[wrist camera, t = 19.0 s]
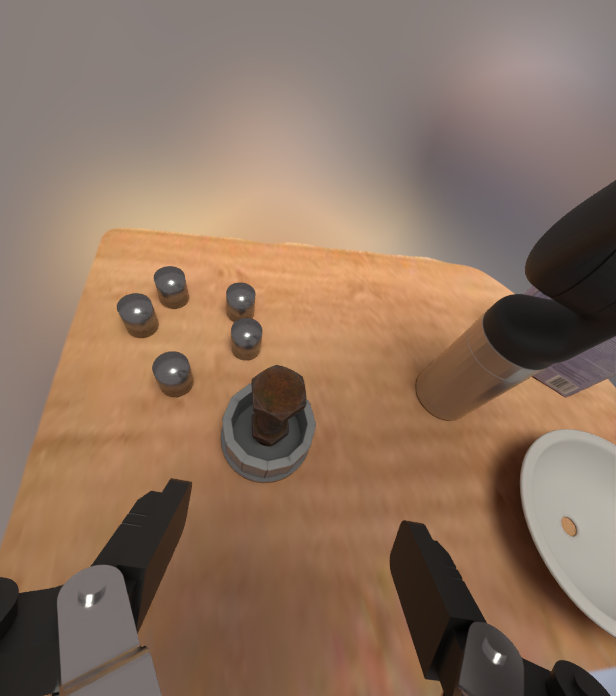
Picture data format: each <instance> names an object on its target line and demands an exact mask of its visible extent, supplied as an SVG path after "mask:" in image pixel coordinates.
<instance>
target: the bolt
mask: <svg viewBox="0 0 616 696" xmlns="http://www.w3.org/2000/svg"><path fill="white" fill-rule="evenodd" d="M251 385H252V402H253V412H254V414H252V436H253V438H254V439H255V440H257V441H258V442H259V443H260V444H261V445H263V446H273V445H275V444H276V443H278V442H279V441H280V440H282V439H283V438H284V437H286V436H287V435H288V433H289V423H288V419H290V418H291V417H293V416H294V415H296V414H297V413H298V412H300V411H301V410H303V409H304V408H305V407H306V404H307V400H306V390H305V384H304V380H303V377H302V376H301V375H299V374H298V373H296V372H295V371H293V370H291V369H288V368H286V367H283V366H279V365H275V366H272V367H270V368H268V369H266V370H264V371H263V372H261V373H260V374H258V375H257V376H255V377H254V378H253V379H252V383H251Z"/></svg>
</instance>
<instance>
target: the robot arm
mask: <svg viewBox="0 0 616 696" xmlns="http://www.w3.org/2000/svg"><path fill="white" fill-rule="evenodd" d="M525 274H526V277H527V279H528V280H529V282H530V283H531V284H532V285H533V286H534V287H535V288H537V289H538V290H539V291H540V292H542V293H543V294H545V295H546V296H548V297H550V298H551V299H553V300H551V299H545V298H540V297H535V296H530V295H524V294H514V295H509V296H506V297H504V298H502V299H500V300H499V301H497V302H496V303H495V304H494V305H493V306H492V307H491V308H490V309H489V310H488V311H487V312H486V313H484V314H483V315H482V316H481V317H480V318H479V319H478V320H477V321H476V322H475V323H474V324H473V325H472V326H471V327H470V328H469V329H468V330H467V331H466V332H464V333H463V334H462V335H461V336H460V337H459V338H458V339H457V340H456V341H455V342H454V343H453V344H452V345H451V346H450V347H449V348H447V349H446V350H445V351H444V352H443V353H442V354H441V355H440V356H439V357H438V358H437V359H436V360H435V361H434V362H432V363H431V364H430V365H429V366H428V367H427V368H426V369H425V370H424V371H423V372H422V373H421V374H420V375H419V377H418V378H417V382H416V392H417V396H418V398H419V400H420V402H421V403H422V405H423V406H424V407H425V408H426V409H427V410H428V411H429V412H430V413H431V414H433V415H434V416H436V417H438V418H441V419H444V420H456V419H459V418H461V417H463V416H465V415H466V414H468V413H470V412H471V411H473V410H475V409H477V408H479V407H480V406H482V405H484V404H486V403H487V402H489V401H491V400H492V399H494V398H496V397H498V396H499V395H501V394H503V393H504V392H506V391H508V390H510V389H511V388H513V387H515V386H517V385H518V384H520V383H522V382H523V381H525V380H527V379H529V378H530V377H532V376H534V375H535V374H537V373H539V372H540V371H542V370H544V369H546V368H548V367H549V366H551V365H553V364H555V363H560V362H564V361H567V360H569V359H571V358H573V357H575V356H577V355H579V354H581V353H583V352H585V351H587V350H589V349H591V348H593V347H595V346H597V345H599V344H601V343H603V342H605V341H607V340H609V339H611V338H613V337H615V336H616V180H615V181H614V182H612V183H611V184H609V185H608V186H606V187H605V188H603V189H602V190H600V191H599V192H597V193H596V194H594V195H593V196H591V197H590V198H588V199H587V200H585V201H584V202H582V203H581V204H580V205H578V206H577V207H575V208H574V209H573V210H571V211H570V212H569V213H567V214H566V215H565V216H564V217H562V218H561V219H560V220H559V221H558V222H557V223H555V224H554V225H553V226H552V227H551V228H550V229H549V230H548V231H547V232H546V233H545V234H544V235H543V236H542V237H541V238H540V240H539V241H538V242H537V243H536V244H535V246H534V247H533V249H532V250H531V252H530V254H529V256H528V258H527V261H526V265H525ZM191 488H192V482H189V481H184V480H178V479H172V478H171V479H170V480H169V482H168V483H167V485H166V487H165V488H164V490H163V492H162V493H161V492H155V491H150V492H149V493H147V494H146V495H144V496H143V497H141V498H140V499H138V500H137V502H136V503H135V505H134V506H133V507H132V509H131V510H130V512H129V514H128V515H127V516H126V517H125V519H124V520H123V522H122V524H120V526H119V527H118V529H117V530H116V531H115V533H114V534H113V536H112V537H111V539H110V540H109V541H108V543H107V544H106V546H105V547H104V548H103V550H102V551H101V553H100V554H99V555H98V557H97V558H96V560H95V561H94V563H93V564H92V565H91V566H90V567H88V568H86V569H84V570H82V571H80V572H78V573H76V574H75V575H74V576H72V577H71V578H70V579H69V580H68V581H67V582H66V583H65V584H64V585H61V586H58V587H55V588H50V589H44V590H37V591H30V592H23V593H19V589H18V586H17V584H16V583H15V582H14V581H13V580H11V579H8V578H3V577H0V696H44V695H48V694H50V696H161V692H160V688H159V684H158V680H157V676H156V673H155V669H154V665H153V661H152V658H151V654H150V652H149V649H148V648H147V647H146V646H144V647H141V645H140V643H139V639H138V635H137V634H138V632H139V629H140V627H141V625H142V623H143V620H144V618H145V616H146V614H147V611H148V609H149V607H150V605H151V602H152V600H153V598H154V596H155V593H156V591H157V589H158V587H159V584H160V582H161V580H162V578H163V575H164V573H165V571H166V569H167V566H168V564H169V562H170V560H171V557H172V555H173V553H174V551H175V548H176V546H177V544H178V542H179V539H180V537H181V534H182V532H183V529H184V525H185V521H186V517H187V511H188V506H189V500H190V494H191ZM390 570H391V574H392V577H393V581H394V584H395V587H396V590H397V593H398V596H399V599H400V602H401V606H402V609H403V612H404V615H405V618H406V621H407V624H408V627H409V631H410V634H411V637H412V640H413V643H414V646H415V649H416V652H417V656H418V659H419V662H420V665H421V668H422V671H423V674H424V678H425V679H429V680H437V681H440V683H441V686H442V689H443V691H442V693H441V696H610V694H609V693H608V692H607V691H606V689H605V688H604V687H603V686H602V685H601V684H600V683H599V682H598V681H597V680H596V679H595V678H594V677H593V676H592V675H590V674H589V673H588V672H587V671H585V670H584V669H582V668H581V667H579V666H577V665H576V664H574V663H571V662H569V661H565V660H560V661H557V662H556V663H555V665H554V667H553V669H552V671H549V670H547V669H544V668H542V667H540V666H538V665H536V664H534V663H532V662H530V661H528V660H525V659H523V658H522V657H521V656H520V654H519V652H518V650H517V649H516V647H515V646H514V645H513V643H512V642H511V641H510V640H509V639H508V638H507V637H506V636H505V635H504V634H503V633H502V632H501V631H499V630H498V629H496V628H495V627H493V626H491V625H489V624H487V622H486V621H485V619H484V617H483V615H482V613H481V611H480V610H479V608H478V606H477V604H476V602H475V601H474V599H473V597H472V595H471V593H470V591H469V590H468V588H467V586H466V584H465V582H464V581H462V577H461V575H460V573H459V571H458V570H456V566H455V564H454V562H453V561H452V559H451V557H450V555H449V553H448V552H447V551H446V550H445V549H444V548H443V547H442V546H441V545H440V544H439V543H438V541H434V540H433V539H432V537H431V535H430V534H429V532H428V530H427V528H426V526H425V525H424V524H422V523H417V522H411V521H406V520H403V521H402V522H401V524H400V527H399V530H398V533H397V536H396V539H395V542H394V545H393V548H392V551H391V554H390Z"/></svg>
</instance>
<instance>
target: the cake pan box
mask: <svg viewBox="0 0 616 696" xmlns="http://www.w3.org/2000/svg"><path fill="white" fill-rule="evenodd" d="M524 295H530V296H535V297H540V298H545V299H551V298H550V297H548V296H546V295H545V294H543V293H542V292H540V291H539V290H538V289H537V288H535V287H534V286H532V287H531V288H530V289H528V290H527V291H526V292H525V293H524ZM551 300H553V299H551ZM614 375H616V336H615V337H613V338H611V339H609V340H607V341H605V342H603V343H601V344H599V345H597V346H595V347H593V348H591V349H589V350H587V351H585V352H583V353H581V354H579V355H577V356H575V357H573V358H571V359H569V360H567V361H564V362H560V363H555V364H553V365H551V366H549V367H548V368H546V369H544V370H542V371H540V372H539V373H537V374H535V375H534V376H533V377H535V378H537V379H538V380H540V381H541V382H543V383H544V384H546V385H548V386H549V387H551V388H552V389H554V390H555V391H557V392H559V393H560V394H561V395H563V396H564V397H568V396H570V395H573V394H575V393H577V392H580V391H582V390H584V389H586V388H589V387H591V386H592V385H595V384H597V383H599V382H601V381H603V380H606V379H608V378H610V377H612V376H614Z"/></svg>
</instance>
